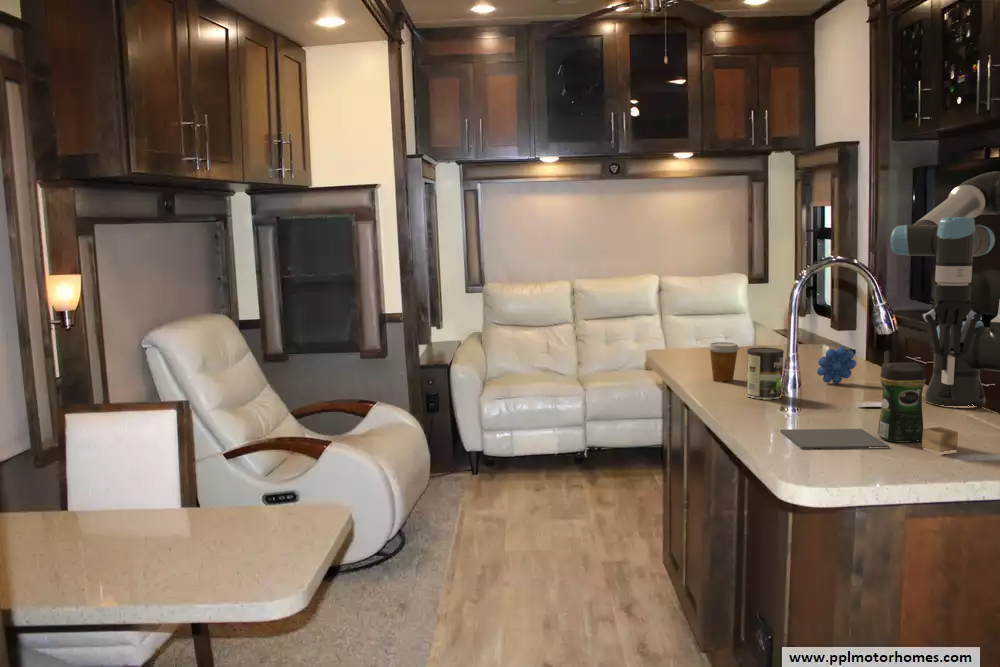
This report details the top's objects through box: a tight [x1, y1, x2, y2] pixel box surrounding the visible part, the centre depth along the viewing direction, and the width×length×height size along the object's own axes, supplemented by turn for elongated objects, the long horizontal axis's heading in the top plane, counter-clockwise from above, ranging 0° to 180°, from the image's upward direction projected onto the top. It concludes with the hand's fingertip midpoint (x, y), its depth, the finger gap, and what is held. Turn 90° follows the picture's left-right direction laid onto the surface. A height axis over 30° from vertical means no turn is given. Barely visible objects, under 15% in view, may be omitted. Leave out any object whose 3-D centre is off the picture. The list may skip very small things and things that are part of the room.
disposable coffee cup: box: [708, 341, 739, 382], centre depth 280 cm, size 10×10×12 cm
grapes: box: [816, 346, 857, 384], centre depth 272 cm, size 12×7×12 cm, turn 78°
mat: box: [780, 428, 890, 450], centre depth 205 cm, size 20×16×1 cm
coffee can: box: [746, 347, 784, 401], centre depth 254 cm, size 10×10×14 cm
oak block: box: [921, 426, 959, 452], centre depth 193 cm, size 5×5×5 cm
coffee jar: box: [877, 362, 927, 442], centre depth 203 cm, size 10×8×19 cm
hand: (947, 383), depth 203 cm, fingers closed
